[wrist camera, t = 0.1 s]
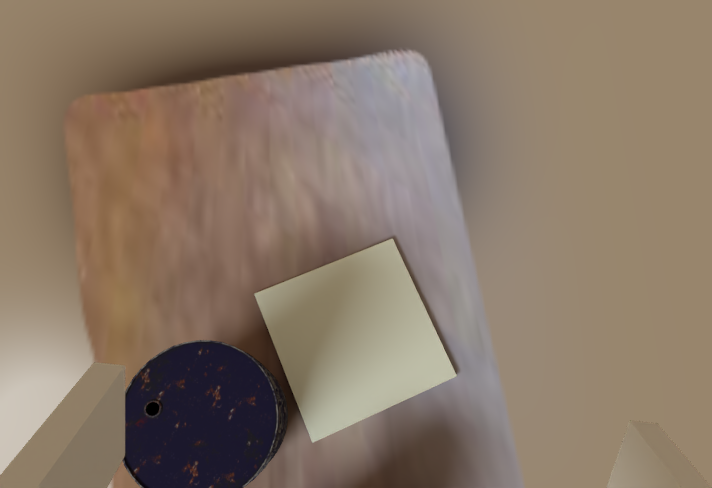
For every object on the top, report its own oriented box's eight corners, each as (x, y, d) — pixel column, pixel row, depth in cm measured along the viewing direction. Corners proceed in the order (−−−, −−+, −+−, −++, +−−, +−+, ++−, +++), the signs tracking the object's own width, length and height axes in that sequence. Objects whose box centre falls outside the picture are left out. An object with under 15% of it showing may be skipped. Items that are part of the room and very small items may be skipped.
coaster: (455, 376, 50) (456, 376, 50) (312, 442, 48) (312, 442, 47) (391, 240, 54) (392, 238, 53) (254, 295, 51) (253, 293, 51)
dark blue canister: (301, 373, 49) (298, 359, 35) (272, 490, 47) (255, 526, 32) (193, 347, 49) (145, 322, 35) (156, 462, 46) (88, 486, 32)
